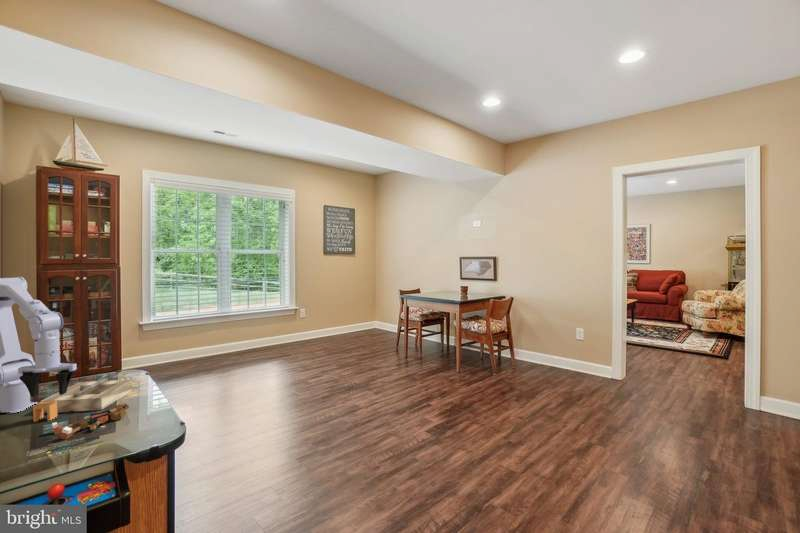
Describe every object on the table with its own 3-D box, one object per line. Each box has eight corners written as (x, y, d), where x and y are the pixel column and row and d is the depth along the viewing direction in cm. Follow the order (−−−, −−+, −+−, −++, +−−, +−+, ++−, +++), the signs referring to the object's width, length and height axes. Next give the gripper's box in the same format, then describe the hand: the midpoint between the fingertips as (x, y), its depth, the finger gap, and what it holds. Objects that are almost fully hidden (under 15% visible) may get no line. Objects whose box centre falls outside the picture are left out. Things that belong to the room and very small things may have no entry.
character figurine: (50, 434, 107) (50, 420, 107) (123, 411, 123) (123, 399, 123) (62, 443, 102) (62, 428, 102) (137, 418, 118) (136, 405, 118)
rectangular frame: (40, 413, 121) (39, 397, 120) (79, 392, 138) (79, 378, 138) (101, 409, 123) (101, 394, 123) (132, 390, 141) (132, 376, 141)
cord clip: (33, 421, 115) (32, 406, 114) (41, 417, 118) (40, 402, 117) (50, 420, 115) (49, 405, 115) (57, 416, 118) (56, 401, 118)
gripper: (9, 356, 111) (11, 401, 111) (65, 353, 114) (67, 397, 114) (27, 350, 118) (29, 392, 118) (80, 348, 121) (81, 389, 121)
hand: (48, 394), depth 117 cm, fingers open, 7 cm apart
